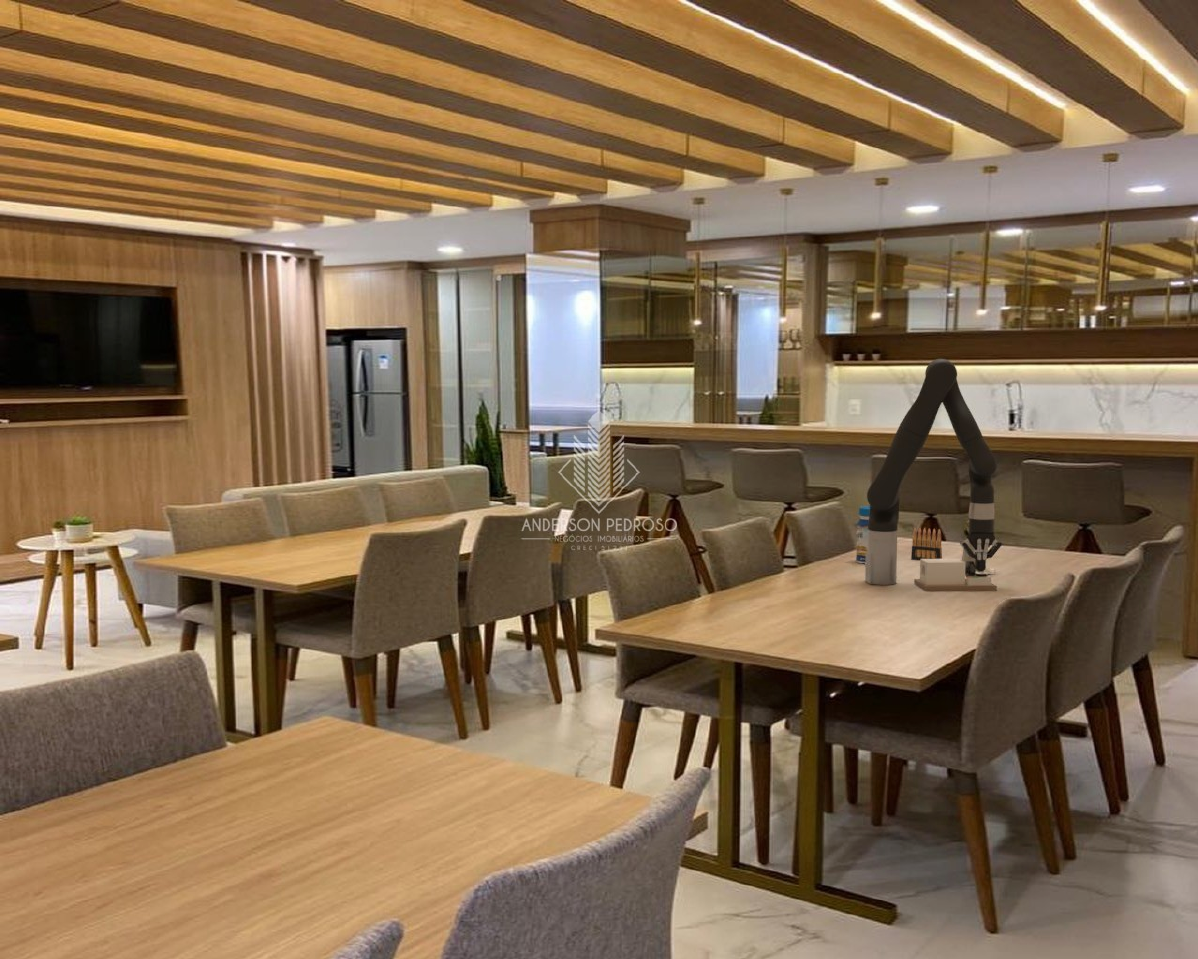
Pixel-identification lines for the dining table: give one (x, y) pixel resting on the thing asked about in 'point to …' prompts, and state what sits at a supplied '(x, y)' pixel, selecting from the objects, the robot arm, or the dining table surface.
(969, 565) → the plunger
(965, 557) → the figurine
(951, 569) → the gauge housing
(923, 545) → the ammunition clip
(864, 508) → the beverage bottle
